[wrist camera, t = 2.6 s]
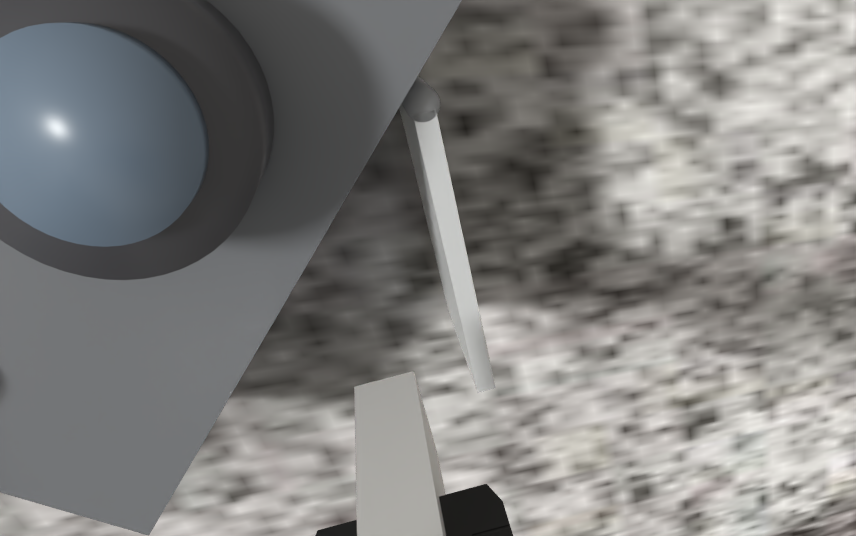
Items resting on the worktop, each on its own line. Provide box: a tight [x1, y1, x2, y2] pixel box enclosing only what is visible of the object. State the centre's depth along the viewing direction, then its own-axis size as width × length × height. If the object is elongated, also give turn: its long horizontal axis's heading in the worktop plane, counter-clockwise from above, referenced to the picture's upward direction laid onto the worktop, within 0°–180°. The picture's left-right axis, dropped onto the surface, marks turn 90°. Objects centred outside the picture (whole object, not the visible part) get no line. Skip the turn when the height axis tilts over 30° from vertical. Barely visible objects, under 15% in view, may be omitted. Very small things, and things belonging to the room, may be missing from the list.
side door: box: [399, 76, 496, 393], centre depth 19 cm, size 10×1×6 cm, turn 13°
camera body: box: [0, 0, 462, 535], centre depth 16 cm, size 18×10×10 cm, turn 148°
